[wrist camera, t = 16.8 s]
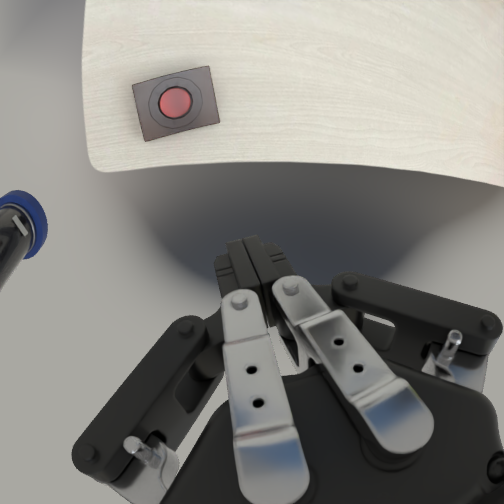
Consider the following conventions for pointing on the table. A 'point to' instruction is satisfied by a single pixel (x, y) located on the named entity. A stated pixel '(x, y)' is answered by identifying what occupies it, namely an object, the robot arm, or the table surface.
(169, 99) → the release button
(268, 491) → the robot arm
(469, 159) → the table surface
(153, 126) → the block
